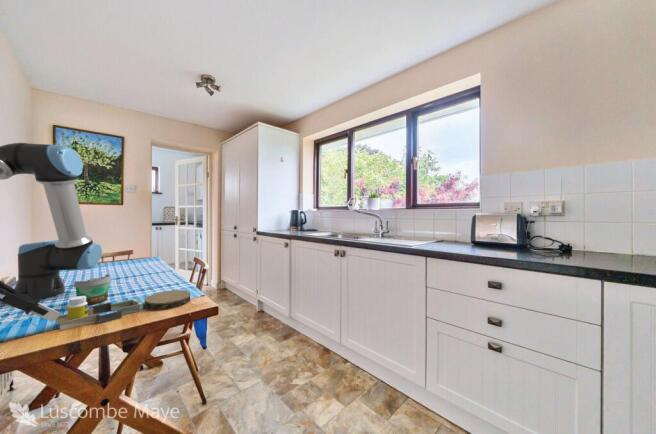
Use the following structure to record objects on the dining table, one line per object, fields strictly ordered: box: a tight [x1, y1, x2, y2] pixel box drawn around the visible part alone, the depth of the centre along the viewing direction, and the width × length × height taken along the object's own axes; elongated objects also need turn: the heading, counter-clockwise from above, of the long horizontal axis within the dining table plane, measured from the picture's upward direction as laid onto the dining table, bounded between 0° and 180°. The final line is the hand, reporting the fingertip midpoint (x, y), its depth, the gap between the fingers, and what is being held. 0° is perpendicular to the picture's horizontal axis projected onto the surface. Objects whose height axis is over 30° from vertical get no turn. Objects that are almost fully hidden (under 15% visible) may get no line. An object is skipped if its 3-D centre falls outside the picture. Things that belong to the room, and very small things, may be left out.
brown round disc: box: [144, 289, 191, 311], centre depth 103 cm, size 16×16×3 cm
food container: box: [72, 274, 112, 307], centre depth 101 cm, size 12×6×10 cm, turn 168°
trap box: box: [55, 298, 144, 332], centre depth 88 cm, size 13×22×2 cm, turn 144°
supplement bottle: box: [67, 295, 89, 321], centre depth 83 cm, size 5×5×8 cm
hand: (56, 317), depth 79 cm, fingers closed
